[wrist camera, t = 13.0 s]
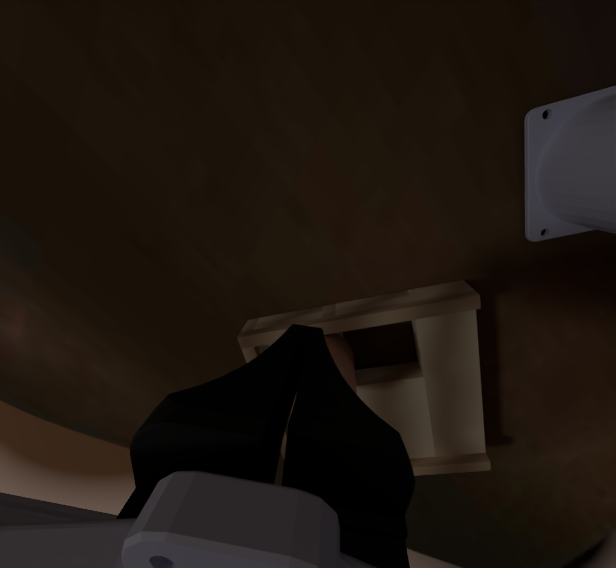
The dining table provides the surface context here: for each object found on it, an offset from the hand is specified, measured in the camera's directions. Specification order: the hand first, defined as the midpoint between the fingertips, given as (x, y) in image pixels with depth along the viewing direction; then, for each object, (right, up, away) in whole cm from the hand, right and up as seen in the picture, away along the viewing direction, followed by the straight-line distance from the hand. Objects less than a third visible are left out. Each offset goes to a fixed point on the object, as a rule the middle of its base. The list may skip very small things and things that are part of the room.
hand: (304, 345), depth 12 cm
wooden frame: (+5, -6, +13) cm, 15 cm away
